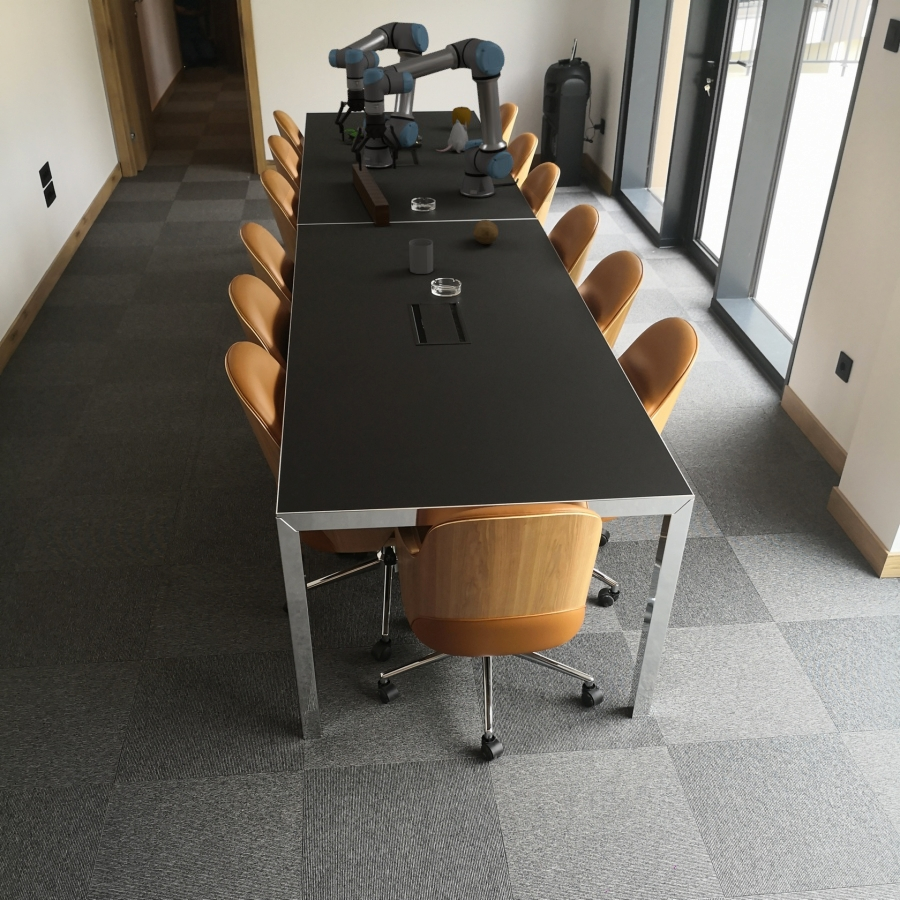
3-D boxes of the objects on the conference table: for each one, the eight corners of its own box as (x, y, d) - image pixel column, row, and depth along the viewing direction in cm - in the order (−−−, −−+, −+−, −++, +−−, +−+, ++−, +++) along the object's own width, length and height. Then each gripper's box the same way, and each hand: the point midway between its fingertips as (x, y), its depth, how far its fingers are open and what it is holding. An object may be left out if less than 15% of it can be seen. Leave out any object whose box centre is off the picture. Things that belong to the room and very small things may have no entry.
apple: (471, 132, 486) (471, 108, 479) (451, 132, 486) (451, 108, 479) (470, 128, 495) (471, 104, 488) (452, 128, 495) (452, 104, 488)
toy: (473, 150, 452) (473, 120, 444) (442, 158, 438) (441, 127, 430) (460, 147, 458) (460, 117, 449) (429, 155, 443) (428, 125, 435)
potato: (495, 236, 338) (496, 216, 334) (500, 248, 327) (500, 227, 322) (471, 236, 338) (471, 216, 334) (474, 249, 326) (474, 228, 322)
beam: (353, 183, 401) (351, 164, 397) (364, 182, 403) (363, 163, 398) (376, 226, 348) (375, 205, 344) (389, 225, 350) (389, 204, 345)
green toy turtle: (394, 125, 469) (339, 123, 467) (394, 140, 462) (338, 138, 460) (394, 135, 474) (339, 133, 472) (394, 150, 467) (338, 148, 464)
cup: (409, 265, 311) (408, 238, 306) (432, 265, 312) (431, 238, 307) (410, 274, 304) (409, 246, 299) (433, 273, 305) (433, 246, 299)
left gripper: (327, 91, 368) (331, 143, 379) (385, 89, 373) (387, 140, 384) (325, 88, 374) (329, 139, 385) (382, 86, 379) (384, 136, 390)
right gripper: (343, 116, 327) (347, 173, 338) (408, 113, 332) (410, 169, 343) (341, 112, 333) (344, 168, 344) (405, 109, 338) (406, 164, 349)
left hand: (358, 140), depth 385 cm, fingers open, 13 cm apart
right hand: (377, 169), depth 344 cm, fingers open, 13 cm apart
